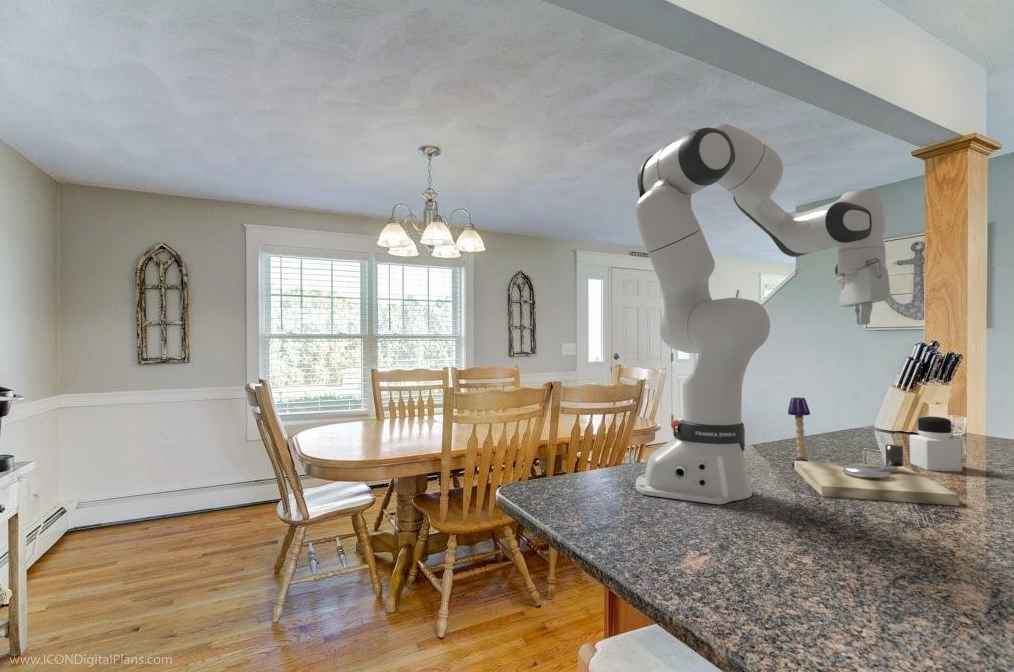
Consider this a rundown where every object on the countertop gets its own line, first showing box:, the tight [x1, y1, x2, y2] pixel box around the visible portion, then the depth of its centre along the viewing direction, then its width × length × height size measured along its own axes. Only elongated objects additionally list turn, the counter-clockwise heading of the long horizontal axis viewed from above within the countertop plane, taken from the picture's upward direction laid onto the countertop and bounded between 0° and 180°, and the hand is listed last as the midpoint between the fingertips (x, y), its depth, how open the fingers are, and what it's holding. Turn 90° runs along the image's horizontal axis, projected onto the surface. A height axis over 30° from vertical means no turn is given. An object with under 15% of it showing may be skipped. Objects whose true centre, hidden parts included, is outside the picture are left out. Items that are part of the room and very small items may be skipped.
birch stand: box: [793, 460, 960, 507], centre depth 106 cm, size 22×22×2 cm
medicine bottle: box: [909, 415, 963, 473], centre depth 120 cm, size 7×7×12 cm
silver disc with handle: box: [843, 444, 904, 479], centre depth 107 cm, size 14×8×5 cm, turn 110°
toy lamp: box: [787, 397, 811, 468], centre depth 122 cm, size 5×5×17 cm
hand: (863, 324), depth 114 cm, fingers closed
